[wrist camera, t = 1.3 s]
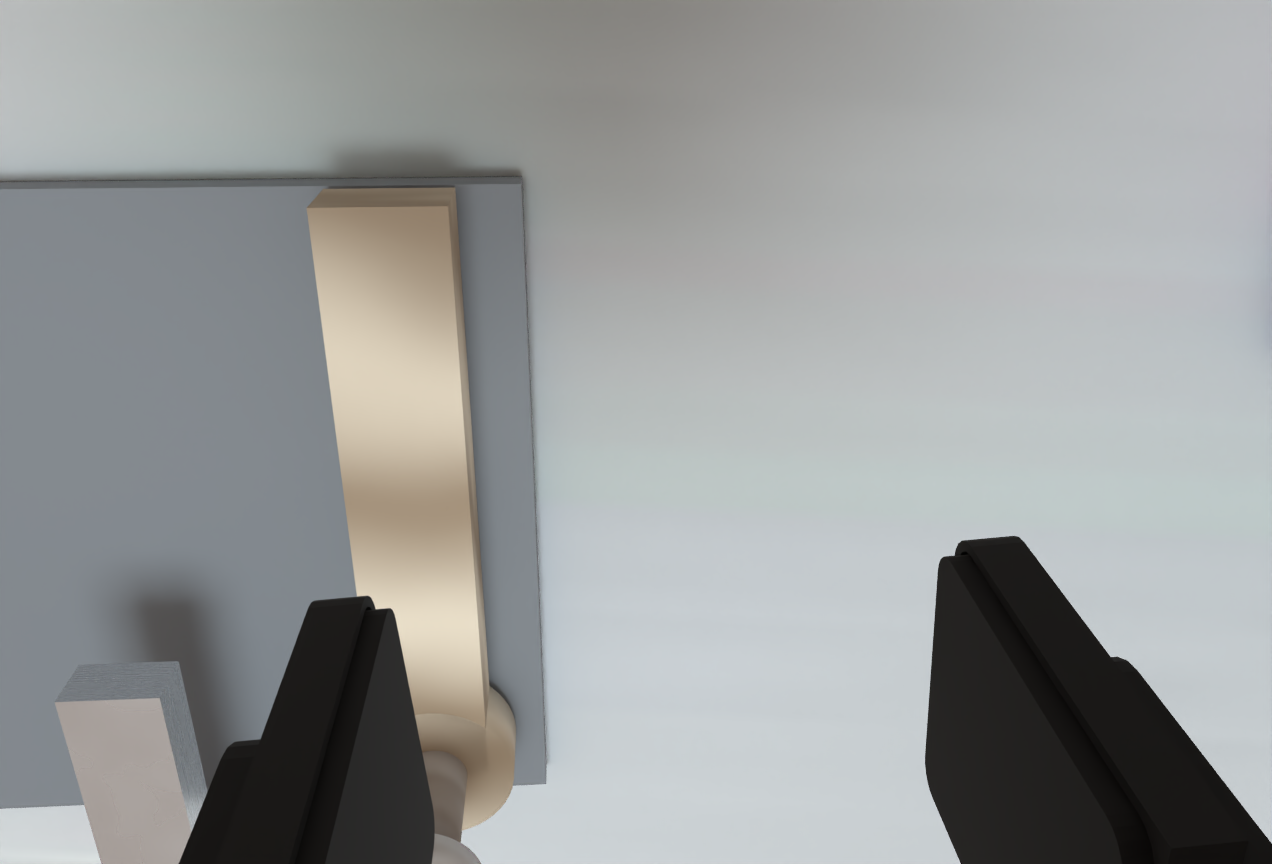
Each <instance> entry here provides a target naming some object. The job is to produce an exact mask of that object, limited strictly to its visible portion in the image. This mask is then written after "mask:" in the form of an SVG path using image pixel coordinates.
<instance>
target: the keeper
mask: <svg viewBox="0 0 1272 864" xmlns="http://www.w3.org/2000/svg"><path fill="white" fill-rule="evenodd" d="M55 705H56V709H57V712H58V716H59V719H60V723H61V726H62V729H63V733H64V736H65V740H66V743H67V747H68V750H69V754H70V757H71V760H72V764H73V767H74V771H75V774H76V778H77V781H78V784H79V788H80V791H81V795H82V798H83V802H84V805H85V808H86V812H87V815H88V819H89V822H90V826H91V829H92V833H93V836H94V839H95V843H96V846H97V850H98V853H99V857H100V860H101V863H102V864H179V862H180V859H181V857H182V854H183V852H184V849H185V847H186V844H187V842H188V839H189V837H190V834H191V832H192V829H193V827H194V824H195V822H196V819H197V817H198V814H199V812H200V809H201V807H202V804H203V802H204V799H205V797H206V794H207V792H208V790H207V786H206V781H205V777H204V773H203V768H202V764H201V759H200V755H199V750H198V746H197V741H196V737H195V732H194V728H193V723H192V719H191V714H190V710H189V705H188V701H187V696H186V692H185V687H184V683H183V678H182V674H181V669H180V665H179V661H166V662H140V663H113V664H86V665H78V667H77V668H76V670H75V671H74V673H73V674H72V676H71V677H70V679H69V681H68V682H67V684H66V685H65V687H64V688H63V690H62V691H61V693H60V695H59V696H58V698H57V699H56V701H55Z"/></svg>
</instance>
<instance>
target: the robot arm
mask: <svg viewBox="0 0 1272 864" xmlns="http://www.w3.org/2000/svg"><path fill="white" fill-rule="evenodd" d="M925 766H926V775H927V780H928V785H929V788H930V792H931V794H932V797H933V800H934V802H935V804H936V807H937V809H938V811H939V814H940V816H941V818H942V821H943V823H944V825H945V828H946V830H947V832H948V835H949V837H950V839H951V842H952V844H953V846H954V849H955V851H956V853H957V856H958V858H959V860H960V863H961V864H1272V844H1271V842H1270V841H1269V840H1268V838H1267V837H1266V836H1265V835H1264V833H1263V832H1262V831H1261V829H1260V828H1259V827H1258V826H1257V824H1256V823H1255V822H1254V820H1253V819H1252V818H1251V817H1250V815H1249V814H1248V813H1247V811H1246V810H1245V809H1244V807H1243V806H1242V805H1241V804H1240V802H1239V801H1238V800H1237V798H1236V797H1235V796H1234V795H1233V793H1232V792H1231V791H1230V789H1229V788H1228V787H1227V786H1226V784H1225V783H1224V782H1223V780H1222V779H1221V778H1220V776H1219V775H1218V774H1217V773H1216V771H1215V770H1214V769H1213V767H1212V766H1211V765H1210V764H1209V762H1208V761H1207V760H1206V758H1205V757H1204V756H1203V755H1202V753H1201V752H1200V751H1199V749H1198V748H1197V747H1196V746H1195V744H1194V743H1193V742H1192V740H1191V739H1190V738H1189V736H1188V735H1187V734H1186V733H1185V731H1184V730H1183V729H1182V727H1181V726H1180V725H1179V724H1178V722H1177V721H1176V720H1175V718H1174V717H1173V716H1172V715H1171V713H1170V712H1169V711H1168V709H1167V708H1166V707H1165V706H1164V704H1163V703H1162V702H1161V700H1160V699H1159V698H1158V696H1157V695H1156V694H1155V693H1154V691H1153V690H1152V689H1151V687H1150V686H1149V685H1148V684H1147V682H1146V681H1145V680H1144V678H1143V677H1142V676H1141V675H1140V673H1139V672H1138V671H1137V670H1136V669H1135V668H1134V667H1133V666H1132V665H1131V664H1130V663H1129V662H1128V661H1127V660H1124V659H1122V658H1119V657H1110V656H1109V654H1108V653H1107V652H1106V650H1105V649H1104V648H1103V646H1102V645H1101V644H1100V642H1099V641H1098V640H1097V638H1096V637H1095V636H1094V634H1093V633H1092V632H1091V630H1090V629H1089V628H1088V627H1087V625H1086V624H1085V623H1084V621H1083V620H1082V619H1081V617H1080V616H1079V615H1078V613H1077V612H1076V611H1075V609H1074V608H1073V607H1072V605H1071V604H1070V603H1069V601H1068V600H1067V599H1066V597H1065V596H1064V595H1063V593H1062V592H1061V591H1060V589H1059V588H1058V587H1057V585H1056V584H1055V583H1054V581H1053V580H1052V579H1051V577H1050V576H1049V575H1048V573H1047V572H1046V571H1045V569H1044V568H1043V567H1042V565H1041V564H1040V563H1039V561H1038V560H1037V559H1036V557H1035V556H1034V555H1033V553H1032V552H1031V551H1030V549H1029V548H1028V547H1027V545H1026V544H1025V543H1024V542H1023V541H1022V540H1021V539H1020V538H1019V537H1016V536H1009V537H998V538H987V539H976V540H965V541H961V542H960V543H959V544H958V546H957V548H956V552H955V556H946V557H943V558H942V559H941V560H940V563H939V568H938V579H937V594H936V608H935V623H934V637H933V652H932V666H931V681H930V695H929V710H928V724H927V739H926V753H925ZM434 840H435V821H434V810H433V804H432V799H431V794H430V789H429V784H428V779H427V774H426V769H425V764H424V759H423V754H422V749H421V744H420V739H419V734H418V728H417V723H416V718H415V713H414V708H413V703H412V698H411V693H410V688H409V683H408V678H407V673H406V668H405V663H404V658H403V653H402V648H401V643H400V638H399V633H398V628H397V623H396V618H395V615H394V612H393V610H392V609H391V608H385V609H375V605H374V602H373V600H372V598H371V597H370V596H358V597H347V598H336V599H325V600H315V601H313V602H311V604H310V605H309V607H308V610H307V612H306V615H305V618H304V621H303V623H302V626H301V629H300V632H299V634H298V637H297V640H296V643H295V645H294V648H293V651H292V654H291V656H290V659H289V662H288V665H287V667H286V670H285V673H284V676H283V678H282V681H281V684H280V687H279V690H278V692H277V695H276V698H275V701H274V703H273V706H272V709H271V712H270V714H269V717H268V720H267V723H266V725H265V728H264V731H263V734H262V736H261V739H258V740H247V741H237V742H234V743H232V744H231V745H230V746H228V747H227V749H226V750H225V752H224V754H223V756H222V758H221V760H220V762H219V764H218V767H217V769H216V772H215V774H214V777H213V779H212V782H211V784H210V787H209V789H208V792H207V794H206V797H205V799H204V802H203V804H202V807H201V809H200V812H199V814H198V817H197V819H196V822H195V824H194V827H193V829H192V832H191V834H190V837H189V839H188V842H187V844H186V847H185V849H184V852H183V854H182V857H181V859H180V862H179V864H432V857H433V850H434Z"/></svg>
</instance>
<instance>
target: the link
mask: <svg viewBox="0 0 1272 864" xmlns="http://www.w3.org/2000/svg"><path fill="white" fill-rule="evenodd" d="M307 215H308V223H309V230H310V238H311V246H312V254H313V261H314V269H315V277H316V284H317V292H318V300H319V307H320V315H321V323H322V331H323V338H324V346H325V354H326V361H327V369H328V377H329V385H330V392H331V400H332V408H333V415H334V423H335V431H336V438H337V446H338V454H339V462H340V469H341V477H342V485H343V492H344V500H345V508H346V515H347V523H348V531H349V539H350V546H351V554H352V562H353V569H354V577H355V585H356V592H357V597H358V596H370V597H371V598H372V600H373V602H374V605H375V609H385V608H391V609H392V610H393V612H394V615H395V618H396V623H397V628H398V633H399V638H400V643H401V648H402V653H403V658H404V663H405V668H406V673H407V678H408V683H409V688H410V693H411V698H412V703H413V708H414V713H415V718H416V723H417V728H418V734H419V739H420V744H421V749H422V754H423V759H424V764H425V769H426V774H427V779H428V784H429V789H430V794H431V799H432V804H433V810H434V821H435V840H434V850H433V857H432V864H481V863H480V861H479V859H478V858H477V857H476V855H475V854H474V853H473V852H472V851H471V850H470V849H469V848H467V847H466V846H465V845H463V844H462V843H461V834H462V830H465V829H469V828H471V827H474V826H476V825H478V824H480V823H482V822H484V821H486V820H487V819H489V818H490V817H491V816H493V815H494V814H495V813H496V812H497V811H498V810H499V809H500V808H501V807H502V806H503V804H504V803H505V802H506V800H507V798H508V797H509V795H510V792H511V790H512V786H513V782H514V766H515V747H516V723H515V719H514V716H513V713H512V711H511V709H510V707H509V705H508V704H507V702H506V701H505V699H504V698H503V697H502V696H501V695H500V694H499V693H498V692H497V691H495V690H494V689H493V688H492V687H490V686H489V672H488V657H487V643H486V628H485V614H484V599H483V585H482V570H481V556H480V541H479V526H478V512H477V497H476V483H475V468H474V454H473V439H472V425H471V410H470V395H469V381H468V366H467V352H466V337H465V323H464V308H463V294H462V279H461V264H460V250H459V235H458V221H457V206H456V192H455V188H361V189H323V190H322V191H321V192H320V193H319V194H318V195H317V197H316V198H315V199H314V200H313V201H312V202H311V203H310V205H309V206H308V207H307Z"/></svg>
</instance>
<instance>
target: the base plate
mask: <svg viewBox="0 0 1272 864" xmlns="http://www.w3.org/2000/svg"><path fill="white" fill-rule="evenodd" d="M361 188H455V192H456V206H457V221H458V235H459V250H460V264H461V279H462V294H463V308H464V323H465V337H466V352H467V366H468V381H469V395H470V410H471V425H472V439H473V454H474V468H475V483H476V497H477V512H478V526H479V541H480V556H481V570H482V585H483V599H484V614H485V628H486V643H487V657H488V672H489V686H490V687H492V688H493V689H494V690H495V691H497V692H498V693H499V694H500V695H501V696H502V697H503V698H504V699H505V701H506V702H507V704H508V705H509V707H510V709H511V711H512V713H513V716H514V719H515V723H516V747H515V766H514V782H513V785H535V784H546V744H545V720H544V696H543V672H542V648H541V624H540V600H539V576H538V552H537V528H536V504H535V480H534V456H533V432H532V408H531V384H530V359H529V335H528V311H527V287H526V263H525V239H524V215H523V191H522V177H432V178H332V179H231V180H130V181H29V182H0V809H4V808H26V807H48V806H70V805H84V802H83V798H82V795H81V791H80V788H79V784H78V781H77V778H76V774H75V771H74V767H73V764H72V760H71V757H70V754H69V750H68V747H67V743H66V740H65V736H64V733H63V729H62V726H61V723H60V719H59V716H58V712H57V709H56V705H55V701H56V699H57V698H58V696H59V695H60V693H61V691H62V690H63V688H64V687H65V685H66V684H67V682H68V681H69V679H70V677H71V676H72V674H73V673H74V671H75V670H76V668H77V667H78V665H86V664H113V663H140V662H166V661H179V665H180V669H181V674H182V678H183V683H184V687H185V692H186V696H187V701H188V705H189V710H190V714H191V719H192V723H193V728H194V732H195V737H196V741H197V746H198V750H199V755H200V759H201V764H202V768H203V773H204V777H205V781H206V786H207V790H208V789H209V787H210V784H211V782H212V779H213V777H214V774H215V772H216V769H217V767H218V764H219V762H220V760H221V758H222V756H223V754H224V752H225V750H226V749H227V747H228V746H230V745H231V744H232V743H234V742H237V741H247V740H258V739H261V736H262V734H263V731H264V728H265V725H266V723H267V720H268V717H269V714H270V712H271V709H272V706H273V703H274V701H275V698H276V695H277V692H278V690H279V687H280V684H281V681H282V678H283V676H284V673H285V670H286V667H287V665H288V662H289V659H290V656H291V654H292V651H293V648H294V645H295V643H296V640H297V637H298V634H299V632H300V629H301V626H302V623H303V621H304V618H305V615H306V612H307V610H308V607H309V605H310V604H311V602H313V601H315V600H325V599H336V598H347V597H357V592H356V585H355V577H354V569H353V562H352V554H351V546H350V539H349V531H348V523H347V515H346V508H345V500H344V492H343V485H342V477H341V469H340V462H339V454H338V446H337V438H336V431H335V423H334V415H333V408H332V400H331V392H330V385H329V377H328V369H327V361H326V354H325V346H324V338H323V331H322V323H321V315H320V307H319V300H318V292H317V284H316V277H315V269H314V261H313V254H312V246H311V238H310V230H309V223H308V215H307V207H308V206H309V205H310V203H311V202H312V201H313V200H314V199H315V198H316V197H317V195H318V194H319V193H320V192H321V191H322V190H323V189H361Z"/></svg>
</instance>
